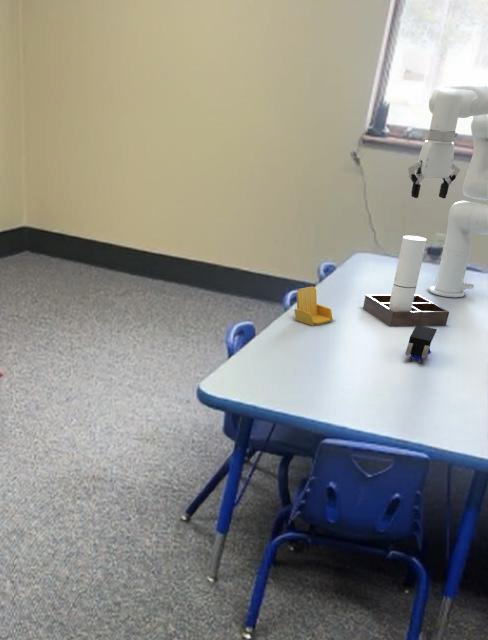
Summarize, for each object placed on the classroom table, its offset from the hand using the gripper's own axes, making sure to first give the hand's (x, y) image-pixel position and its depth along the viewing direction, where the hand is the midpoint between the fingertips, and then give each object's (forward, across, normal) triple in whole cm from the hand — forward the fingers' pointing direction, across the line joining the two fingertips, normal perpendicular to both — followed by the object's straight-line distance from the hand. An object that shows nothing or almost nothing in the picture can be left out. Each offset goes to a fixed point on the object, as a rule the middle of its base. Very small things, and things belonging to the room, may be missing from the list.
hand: (428, 197), depth 253 cm
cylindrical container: (+35, +8, +11) cm, 38 cm away
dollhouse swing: (+36, +38, +8) cm, 52 cm away
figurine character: (+35, +20, +45) cm, 60 cm away
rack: (+36, +4, +6) cm, 37 cm away
